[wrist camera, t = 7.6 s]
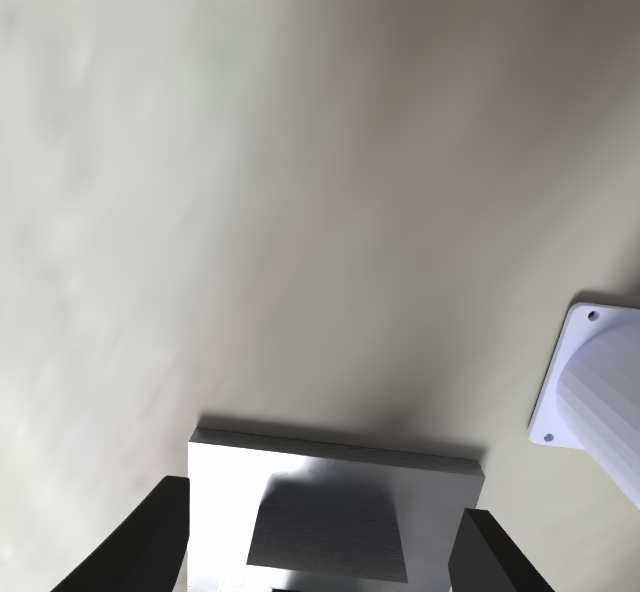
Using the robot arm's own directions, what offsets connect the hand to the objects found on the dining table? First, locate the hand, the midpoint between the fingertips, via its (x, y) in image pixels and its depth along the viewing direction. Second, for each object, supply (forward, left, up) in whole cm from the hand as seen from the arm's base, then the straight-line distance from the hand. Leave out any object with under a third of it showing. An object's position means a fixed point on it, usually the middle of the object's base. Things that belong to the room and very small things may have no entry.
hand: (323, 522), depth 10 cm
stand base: (-1, +14, -10) cm, 17 cm away
